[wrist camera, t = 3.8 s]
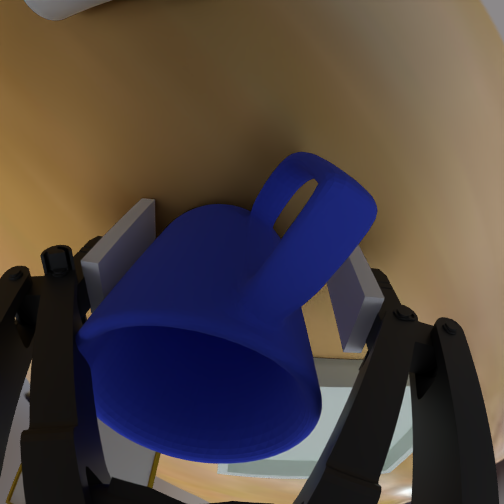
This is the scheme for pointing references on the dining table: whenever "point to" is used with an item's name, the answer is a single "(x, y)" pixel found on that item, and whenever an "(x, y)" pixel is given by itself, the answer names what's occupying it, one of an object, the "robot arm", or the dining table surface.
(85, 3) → the white cylinder
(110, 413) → the mug
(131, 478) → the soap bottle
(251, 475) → the tray
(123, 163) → the dining table surface
